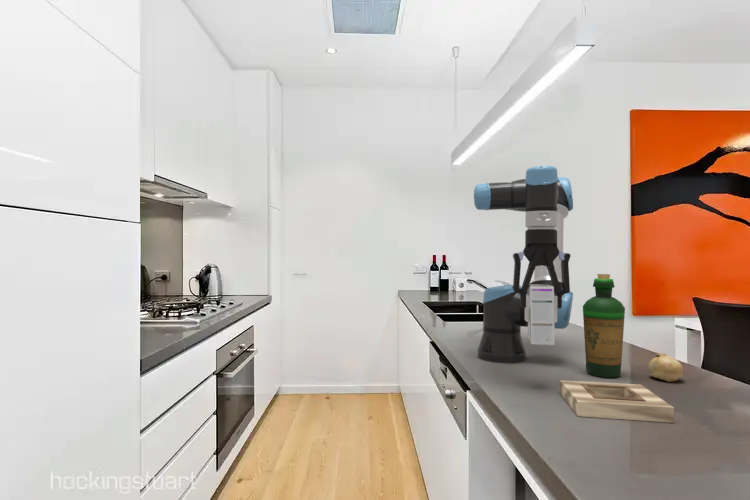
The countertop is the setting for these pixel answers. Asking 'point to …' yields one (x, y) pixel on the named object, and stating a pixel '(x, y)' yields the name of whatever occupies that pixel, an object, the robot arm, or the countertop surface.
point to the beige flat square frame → (615, 401)
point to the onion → (665, 368)
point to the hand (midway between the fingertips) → (540, 320)
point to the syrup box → (541, 314)
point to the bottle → (603, 330)
